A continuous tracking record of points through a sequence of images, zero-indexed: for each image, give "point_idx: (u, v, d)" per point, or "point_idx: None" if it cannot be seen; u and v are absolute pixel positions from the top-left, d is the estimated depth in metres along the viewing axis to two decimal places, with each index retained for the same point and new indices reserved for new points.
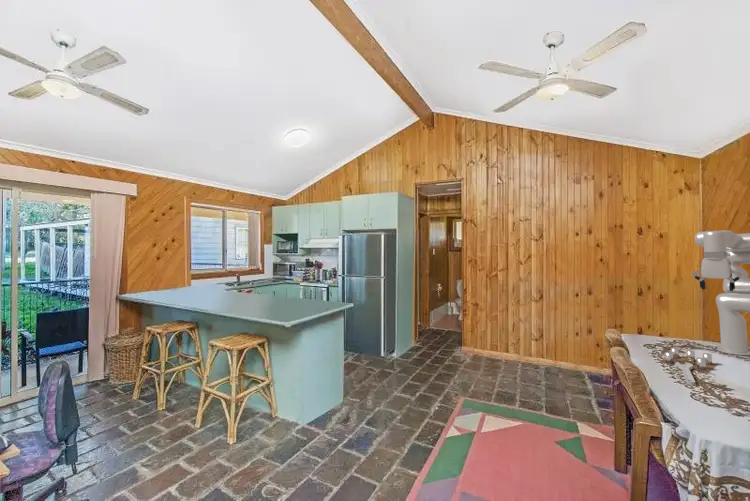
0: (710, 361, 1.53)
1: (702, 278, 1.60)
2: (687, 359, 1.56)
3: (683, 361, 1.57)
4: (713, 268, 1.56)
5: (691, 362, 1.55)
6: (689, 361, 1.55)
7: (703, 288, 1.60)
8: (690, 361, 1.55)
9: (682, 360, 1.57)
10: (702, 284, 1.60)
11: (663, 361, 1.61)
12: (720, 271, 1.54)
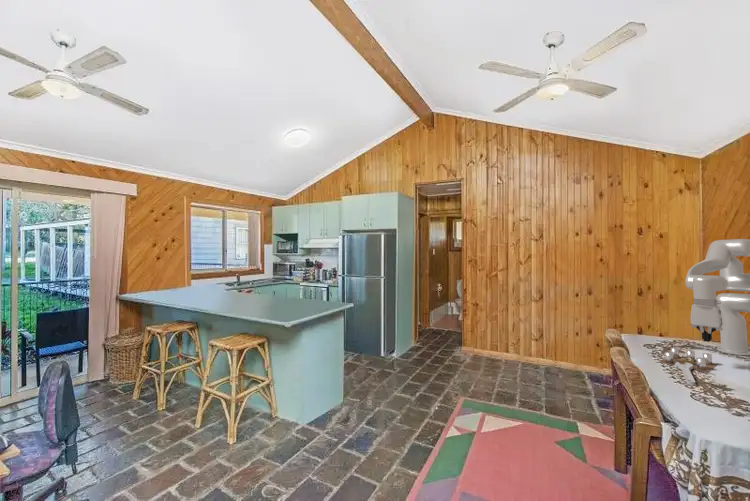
0: (710, 361, 1.53)
1: (701, 328, 1.51)
2: (687, 359, 1.56)
3: (683, 361, 1.57)
4: (703, 316, 1.49)
5: (691, 362, 1.55)
6: (689, 361, 1.55)
7: (705, 340, 1.50)
8: (690, 361, 1.55)
9: (682, 360, 1.57)
10: (704, 336, 1.50)
11: (663, 361, 1.61)
12: (710, 320, 1.47)
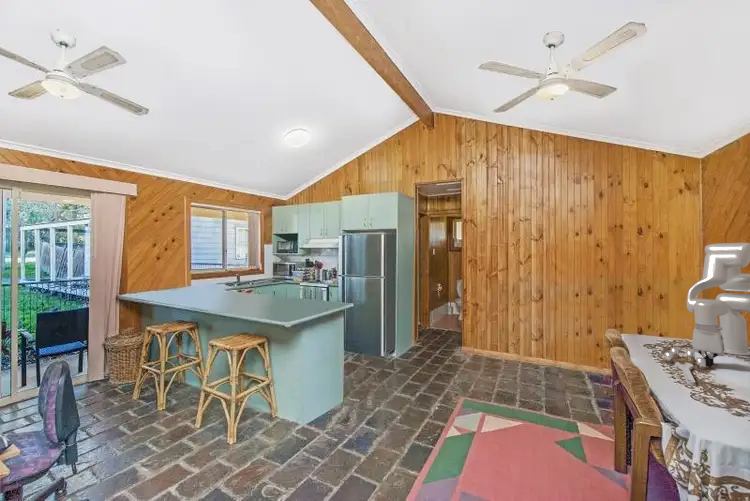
0: None
1: (703, 353, 1.51)
2: (687, 359, 1.56)
3: (683, 361, 1.57)
4: (704, 341, 1.49)
5: (691, 362, 1.55)
6: (689, 361, 1.55)
7: (707, 365, 1.50)
8: (690, 361, 1.55)
9: (682, 360, 1.57)
10: (706, 360, 1.50)
11: (663, 361, 1.61)
12: (712, 345, 1.48)
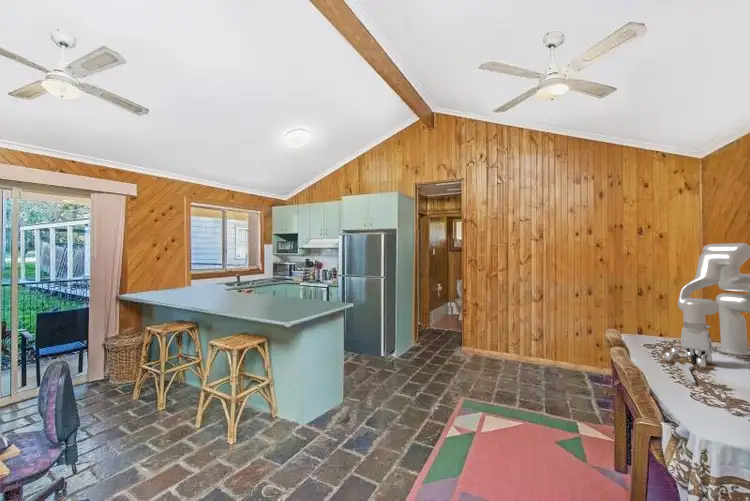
0: (710, 361, 1.53)
1: (691, 351, 1.54)
2: (686, 359, 1.57)
3: (682, 361, 1.57)
4: (692, 339, 1.53)
5: (690, 362, 1.55)
6: (688, 361, 1.55)
7: (695, 362, 1.53)
8: (689, 361, 1.55)
9: (681, 360, 1.57)
10: (694, 358, 1.53)
11: (663, 361, 1.61)
12: (699, 343, 1.51)
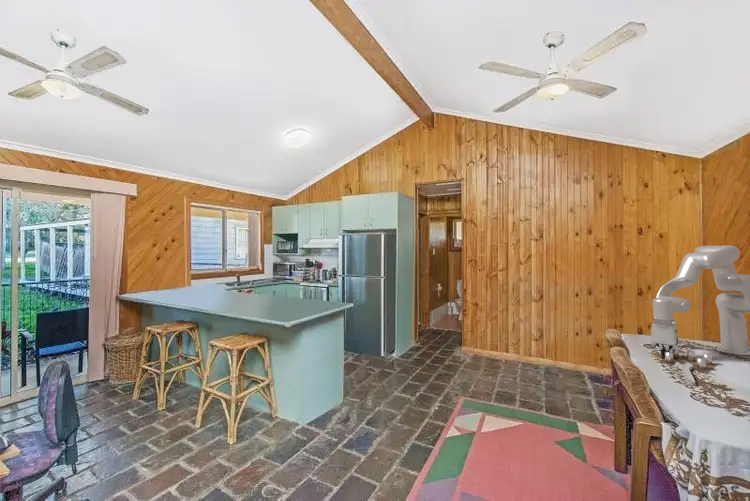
0: (710, 361, 1.53)
1: (660, 345, 1.64)
2: (656, 354, 1.66)
3: (653, 356, 1.67)
4: (661, 334, 1.63)
5: (660, 357, 1.64)
6: (658, 356, 1.65)
7: (664, 356, 1.63)
8: (659, 356, 1.65)
9: (652, 355, 1.67)
10: (663, 352, 1.63)
11: (663, 361, 1.61)
12: (667, 338, 1.61)
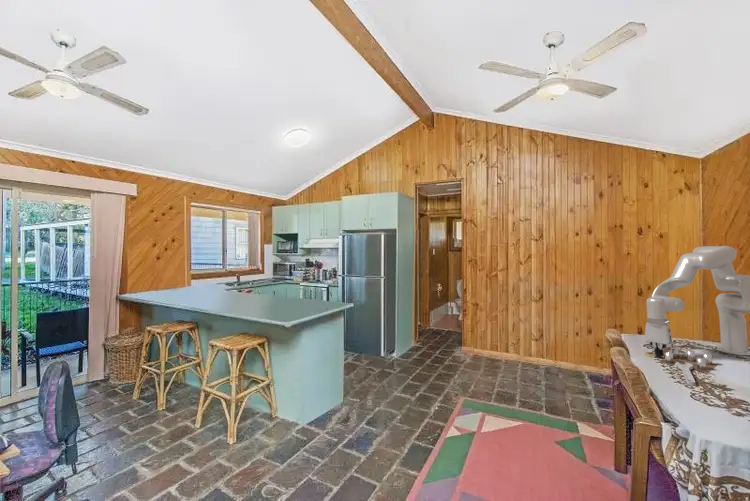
0: (710, 361, 1.53)
1: (654, 344, 1.67)
2: (650, 353, 1.68)
3: (647, 355, 1.69)
4: (655, 333, 1.65)
5: (654, 356, 1.67)
6: (652, 355, 1.67)
7: (657, 355, 1.65)
8: (653, 355, 1.67)
9: (646, 354, 1.69)
10: (656, 351, 1.66)
11: (663, 361, 1.61)
12: (660, 337, 1.63)
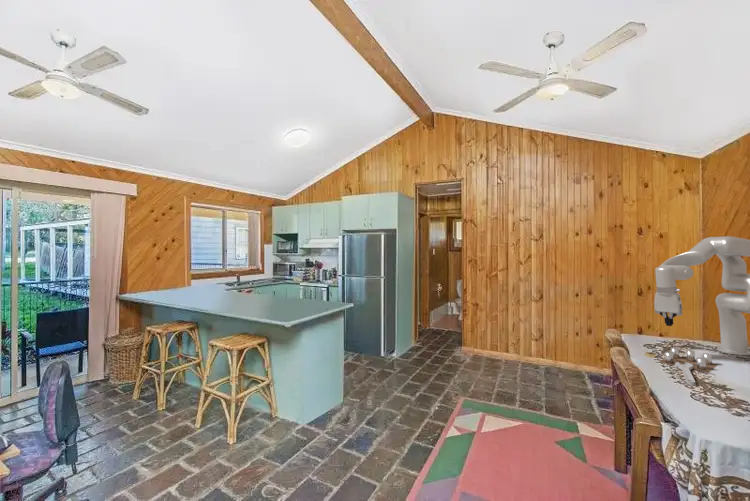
0: (710, 361, 1.53)
1: (663, 314, 1.64)
2: (650, 353, 1.68)
3: (647, 355, 1.69)
4: (664, 303, 1.63)
5: (653, 356, 1.67)
6: (652, 355, 1.67)
7: (667, 325, 1.63)
8: (653, 355, 1.67)
9: (646, 354, 1.69)
10: (666, 321, 1.63)
11: (663, 361, 1.61)
12: (670, 306, 1.61)
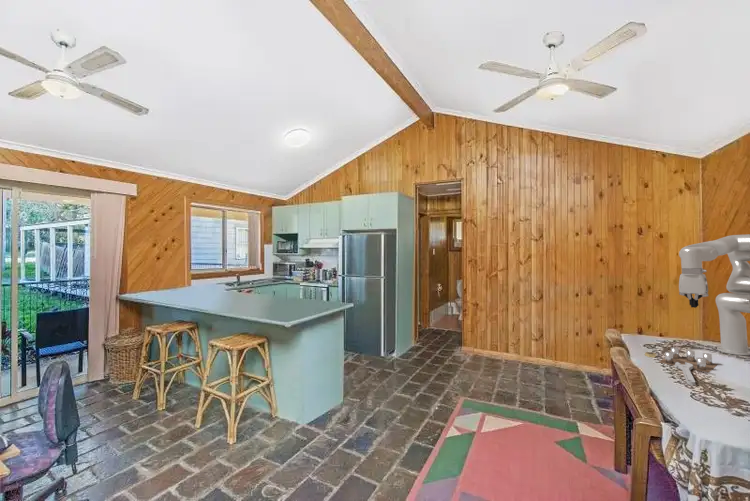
0: (710, 361, 1.53)
1: (688, 295, 1.62)
2: (650, 353, 1.68)
3: (647, 355, 1.69)
4: (690, 284, 1.61)
5: (653, 356, 1.67)
6: (652, 355, 1.67)
7: (692, 306, 1.61)
8: (653, 355, 1.67)
9: (646, 354, 1.69)
10: (691, 302, 1.61)
11: (663, 361, 1.61)
12: (696, 287, 1.59)
